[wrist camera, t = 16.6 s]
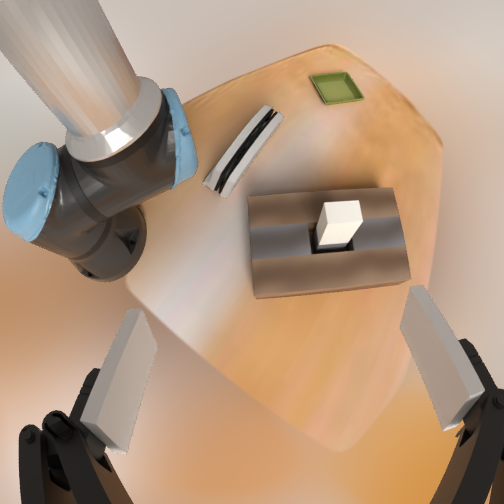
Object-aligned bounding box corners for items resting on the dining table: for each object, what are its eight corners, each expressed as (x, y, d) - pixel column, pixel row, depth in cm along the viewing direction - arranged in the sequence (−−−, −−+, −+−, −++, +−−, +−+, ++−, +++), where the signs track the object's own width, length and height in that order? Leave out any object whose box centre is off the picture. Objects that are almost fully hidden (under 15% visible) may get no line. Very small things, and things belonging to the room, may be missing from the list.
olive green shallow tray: (308, 82, 55) (309, 75, 53) (345, 77, 55) (347, 71, 53) (324, 110, 52) (325, 103, 50) (363, 105, 52) (365, 98, 50)
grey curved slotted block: (253, 118, 53) (266, 90, 43) (274, 132, 53) (291, 106, 43) (201, 186, 50) (204, 165, 40) (224, 202, 50) (233, 184, 40)
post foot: (398, 284, 42) (411, 278, 38) (256, 299, 44) (253, 294, 39) (383, 200, 46) (392, 187, 41) (250, 210, 48) (247, 196, 43)
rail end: (340, 252, 44) (362, 221, 31) (314, 254, 44) (327, 223, 31) (338, 236, 44) (358, 200, 32) (312, 238, 45) (324, 202, 32)
